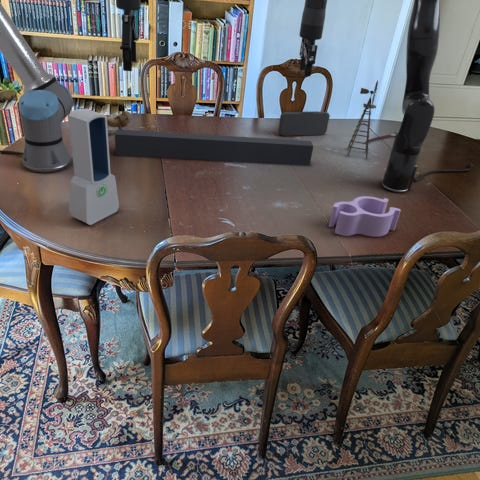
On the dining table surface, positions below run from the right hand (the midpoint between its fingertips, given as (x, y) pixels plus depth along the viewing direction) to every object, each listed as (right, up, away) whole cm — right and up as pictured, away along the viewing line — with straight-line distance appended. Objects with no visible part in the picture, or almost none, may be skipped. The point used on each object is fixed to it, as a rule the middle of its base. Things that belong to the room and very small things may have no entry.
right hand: (304, 73), depth 163 cm
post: (-32, -27, +14) cm, 44 cm away
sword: (+45, -12, +51) cm, 69 cm away
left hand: (-60, 0, -6) cm, 60 cm away
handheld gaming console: (+5, -11, +45) cm, 47 cm away
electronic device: (-64, -51, -28) cm, 87 cm away
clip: (+14, -54, -20) cm, 60 cm away
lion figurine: (-73, -15, +26) cm, 79 cm away
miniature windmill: (+26, -23, +31) cm, 47 cm away
